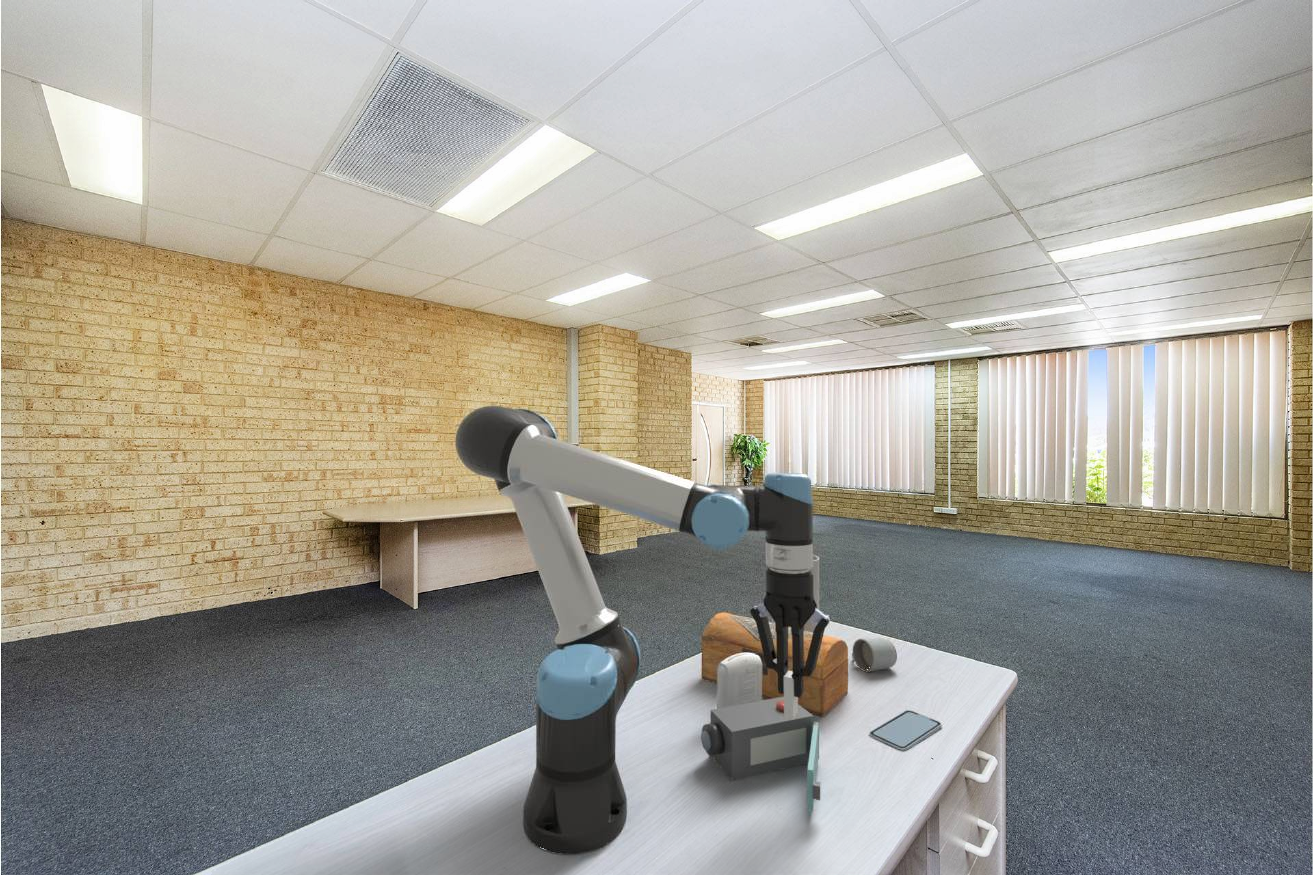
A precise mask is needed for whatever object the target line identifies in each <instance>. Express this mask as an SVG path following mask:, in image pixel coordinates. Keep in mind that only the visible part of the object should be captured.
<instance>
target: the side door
mask: <svg viewBox="0 0 1313 875" xmlns="http://www.w3.org/2000/svg"><path fill="white" fill-rule="evenodd" d="M819 760H820V723H819V722H817V721H813V733H812V740H811V747H810V755H809V762H808V763H807V781H806V782H807V792H806V793H807V797H806V798H807V806H806V808H807V810H806V811H810V812H814V805H815V800H816V801H821V781H817V778H818V777H817V776H818V766H819Z"/></svg>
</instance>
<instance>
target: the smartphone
mask: <svg viewBox="0 0 1313 875" xmlns="http://www.w3.org/2000/svg"><path fill="white" fill-rule="evenodd" d="M941 727H942V722H941V721H938V720H936V719H933V718H931V717H928V716H926V715H924V714H921V713H919V712H916V711H913V710H911V709H910V710H909V709H906V710H904V711H903V712H900V713H899V714H897V715H896V716H894V717H892V718H891V719H889V720H886V721H885V722H883V723H882V724H881V725H879V726H877V727H875V728H874V729H872V730H870V731H869V733H868V736H870V738H873V739H875V740H877V741H878V742H881V743H884V744H886V745H888V746H889V747H891V748H894V749H896V750H898V751H902V752H903V751H904V752H905V751H908V750H909V749H911V748H912V747H914V746H915V745H917V744H919V743H920V742H922V741H924V740H925V739H926V738H928V737H930V736H932V735H933V734H935V733H936V732H938V731H939V730H940V728H941ZM938 729H939V730H938ZM941 729H942V728H941ZM937 730H938V731H937ZM934 732H935V733H934Z"/></svg>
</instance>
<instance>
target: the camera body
mask: <svg viewBox="0 0 1313 875" xmlns="http://www.w3.org/2000/svg"><path fill="white" fill-rule="evenodd" d="M813 723H814V714H811V713H809V712H808V711H806V710H805V709H804V708H802V707H801V706H800V705H799V704H798V713H797V714H796V716H795V717H794V719H789V718H785V717H784V697H778V698H773V699H762V701H756V702H751V703H745V704H740V705H734V706H728V707H723V708H717V707H716V708H712V709H710V723H706V724H704V725H703V726H702V727H701V733H700V741H701V746H702V747H703V750H704V751H705V752H706V755H708V756H709V757H712V759H713V760H714V761H715V762H716V763H717V765H718V767H719V768H721V769H722V771H723V772H724V773H725V775H726V776H727V777H728V778H729V779H730V781H731V782H732V781H737V780H741V779H746V778H750V777H754V776H758V775H762V774H766V773H771V772H772V773H773V772H776V771H779V770H783V769H789V768H792V767H797V766H802V765H806V764H808V762H809V755H810V747H811V740H812V733H813Z"/></svg>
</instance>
